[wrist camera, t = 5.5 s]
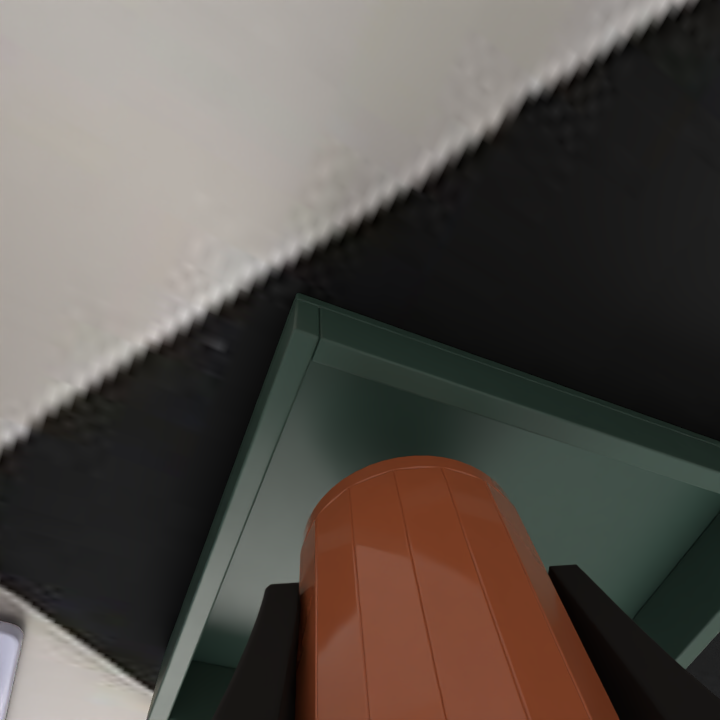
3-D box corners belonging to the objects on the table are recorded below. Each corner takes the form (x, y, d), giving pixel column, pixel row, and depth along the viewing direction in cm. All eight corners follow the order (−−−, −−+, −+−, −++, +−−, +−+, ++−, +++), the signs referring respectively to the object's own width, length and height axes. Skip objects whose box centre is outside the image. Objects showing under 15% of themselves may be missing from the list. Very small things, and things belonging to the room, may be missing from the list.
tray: (164, 653, 19) (143, 728, 16) (297, 291, 14) (293, 328, 11) (544, 725, 22) (571, 796, 20) (763, 456, 17) (831, 510, 15)
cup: (272, 596, 14) (242, 946, 8) (349, 426, 12) (380, 728, 6) (459, 637, 15) (548, 970, 9) (556, 489, 13) (745, 793, 7)
